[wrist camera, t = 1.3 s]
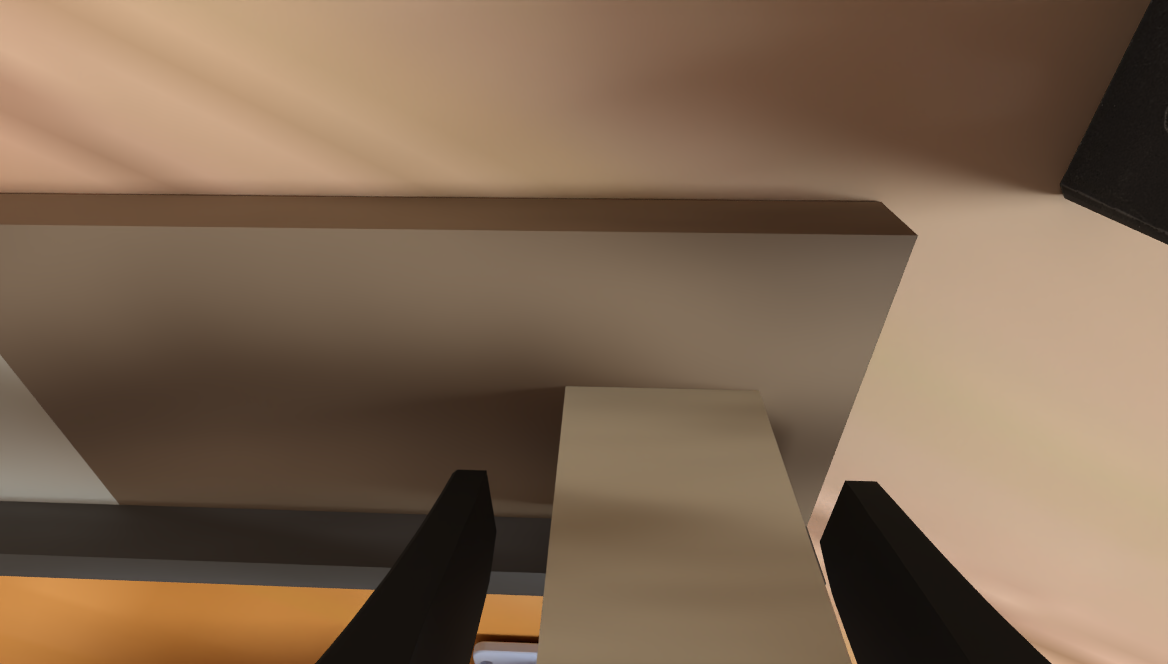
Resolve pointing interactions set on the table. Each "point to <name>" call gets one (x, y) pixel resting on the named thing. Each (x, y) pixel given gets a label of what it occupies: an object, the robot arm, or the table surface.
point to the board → (388, 364)
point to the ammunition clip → (1130, 137)
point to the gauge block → (679, 537)
